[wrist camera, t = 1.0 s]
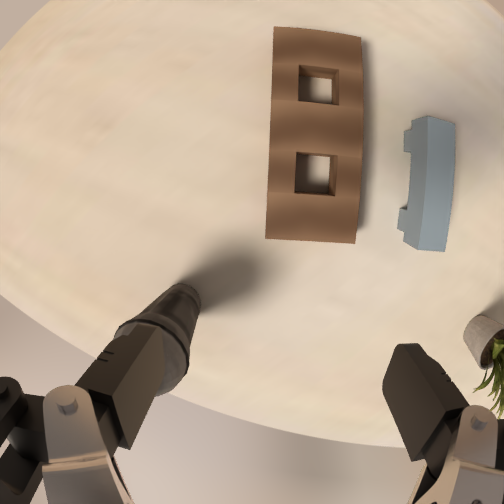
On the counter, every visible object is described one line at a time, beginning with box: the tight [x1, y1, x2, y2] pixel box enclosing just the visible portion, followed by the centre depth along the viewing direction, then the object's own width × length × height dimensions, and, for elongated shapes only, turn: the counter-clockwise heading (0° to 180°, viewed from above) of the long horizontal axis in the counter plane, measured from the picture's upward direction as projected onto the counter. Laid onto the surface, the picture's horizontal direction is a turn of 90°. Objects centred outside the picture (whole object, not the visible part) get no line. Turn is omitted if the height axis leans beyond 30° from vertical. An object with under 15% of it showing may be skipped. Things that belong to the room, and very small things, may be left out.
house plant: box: [463, 315, 504, 419], centre depth 26 cm, size 14×14×16 cm
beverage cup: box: [113, 284, 201, 396], centre depth 25 cm, size 7×7×20 cm
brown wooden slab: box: [265, 27, 364, 244], centre depth 27 cm, size 22×9×4 cm, turn 178°
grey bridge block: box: [397, 116, 455, 252], centre depth 26 cm, size 13×4×6 cm, turn 178°
